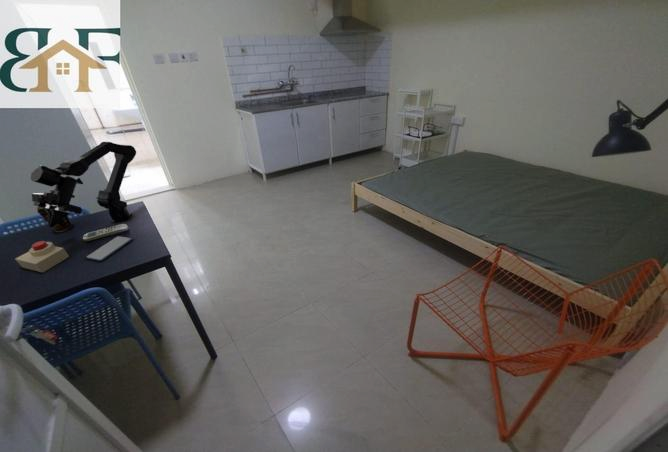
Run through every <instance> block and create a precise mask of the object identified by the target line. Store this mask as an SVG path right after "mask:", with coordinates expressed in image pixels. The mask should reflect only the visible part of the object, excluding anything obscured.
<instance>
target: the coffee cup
mask: <svg viewBox="0 0 668 452" xmlns="http://www.w3.org/2000/svg"><path fill="white" fill-rule="evenodd" d="M36 207H37V208H36V210H37V211H36V212H37V213H38V214H39V215H40V216H41V218H43V219H44V221H45V222H46V223H47V224H48V214H47V212H46V211H45V210H44V209H43V208H44V207H39V206H36ZM72 227H73V226H72V224H71V221H70V219H69V217H68V215H67V216H66V217H64V218H63V219H62V220H61V221H59V222H58V223H57V224H56V225H55V226H54V227H53V229H54V231H55V233H62V232H66V231H68V230H69V229H71V228H72Z"/></svg>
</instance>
